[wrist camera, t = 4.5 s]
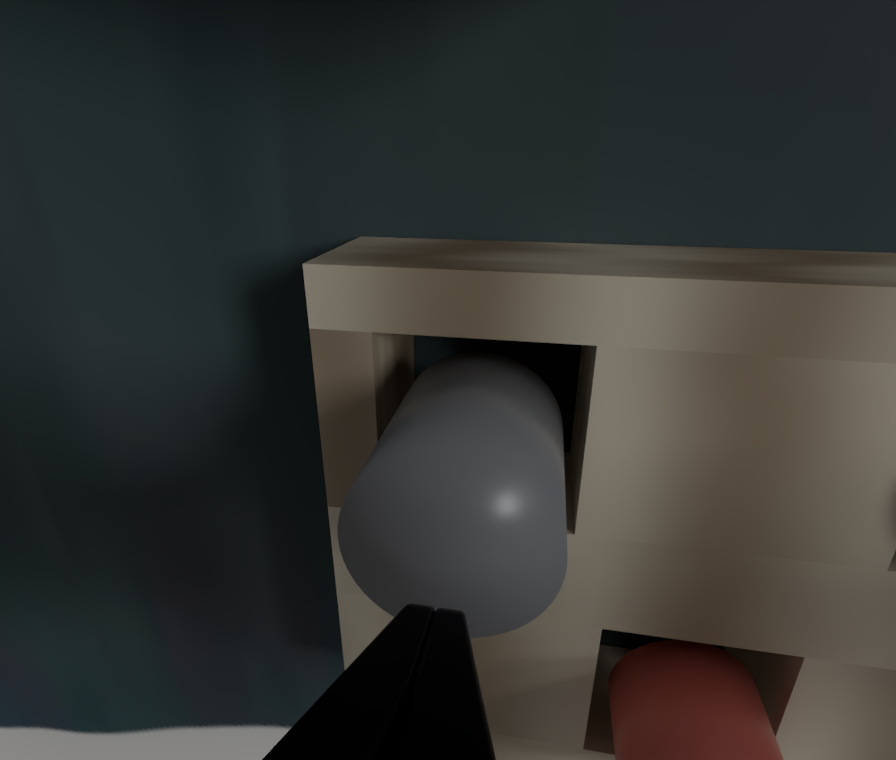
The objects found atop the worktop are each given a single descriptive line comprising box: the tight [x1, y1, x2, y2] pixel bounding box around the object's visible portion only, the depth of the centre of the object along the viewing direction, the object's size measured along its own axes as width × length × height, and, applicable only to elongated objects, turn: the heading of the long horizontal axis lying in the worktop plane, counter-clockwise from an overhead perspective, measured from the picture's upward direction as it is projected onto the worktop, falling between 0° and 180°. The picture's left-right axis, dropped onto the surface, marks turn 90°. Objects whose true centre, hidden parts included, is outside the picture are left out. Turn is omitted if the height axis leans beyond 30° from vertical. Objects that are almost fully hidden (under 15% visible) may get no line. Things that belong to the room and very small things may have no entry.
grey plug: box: [337, 352, 568, 638], centre depth 11 cm, size 4×4×4 cm
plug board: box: [303, 237, 896, 760], centre depth 15 cm, size 20×16×4 cm
